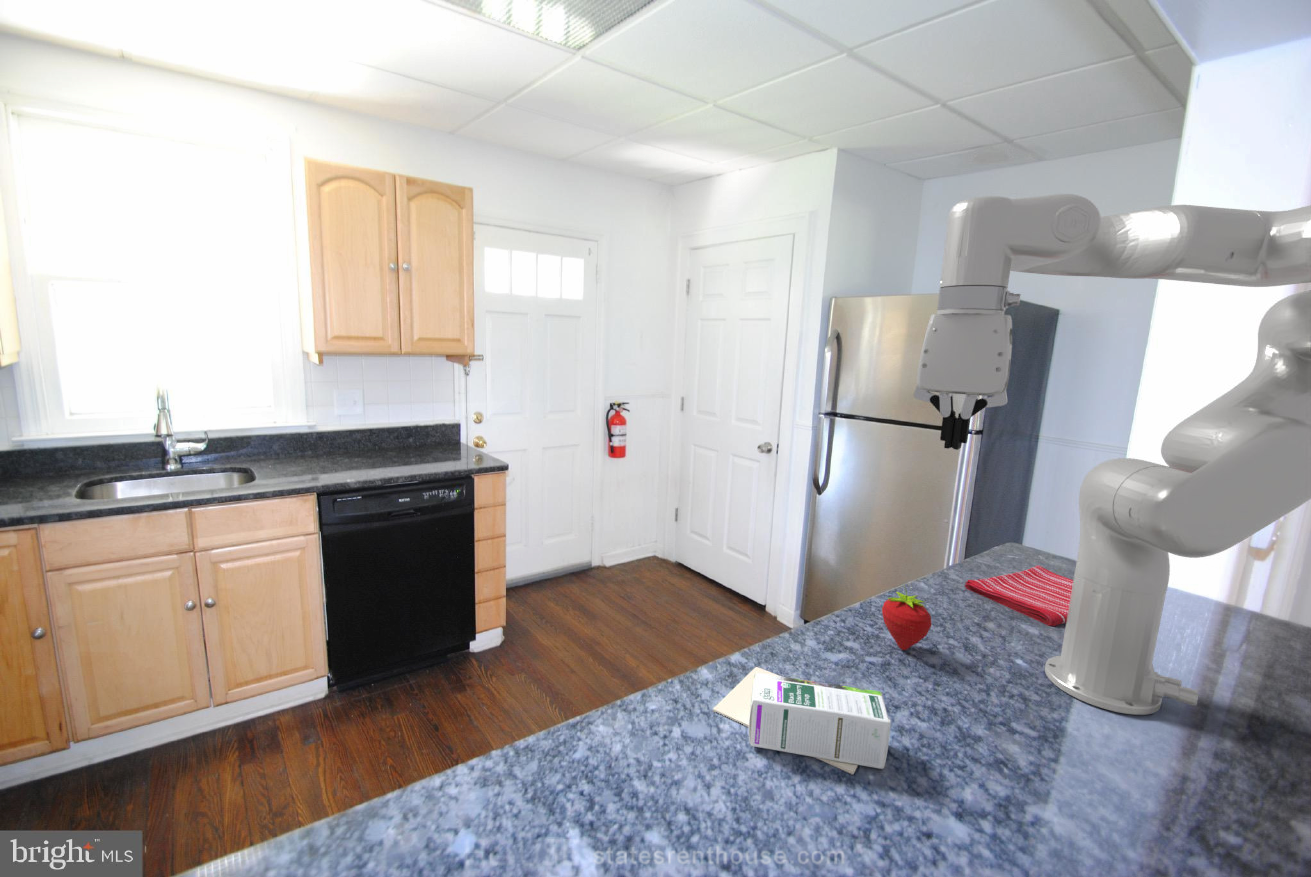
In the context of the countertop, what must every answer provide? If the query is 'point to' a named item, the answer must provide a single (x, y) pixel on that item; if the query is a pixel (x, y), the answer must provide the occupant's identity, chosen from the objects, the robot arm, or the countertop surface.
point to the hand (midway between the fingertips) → (952, 447)
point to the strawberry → (906, 620)
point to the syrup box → (819, 720)
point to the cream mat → (739, 710)
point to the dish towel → (1029, 593)
